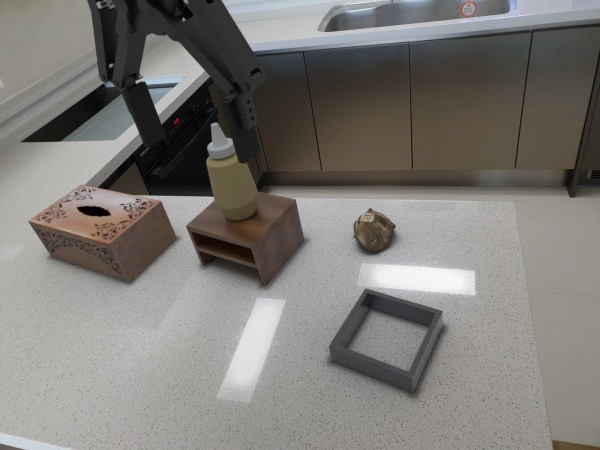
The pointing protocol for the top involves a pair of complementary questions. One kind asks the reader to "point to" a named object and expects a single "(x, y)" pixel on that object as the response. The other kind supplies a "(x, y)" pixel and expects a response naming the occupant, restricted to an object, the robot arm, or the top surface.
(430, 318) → the holder
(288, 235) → the wooden shelf
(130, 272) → the tissue box cover
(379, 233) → the fossilized seashell
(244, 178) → the squeeze bottle
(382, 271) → the top surface
